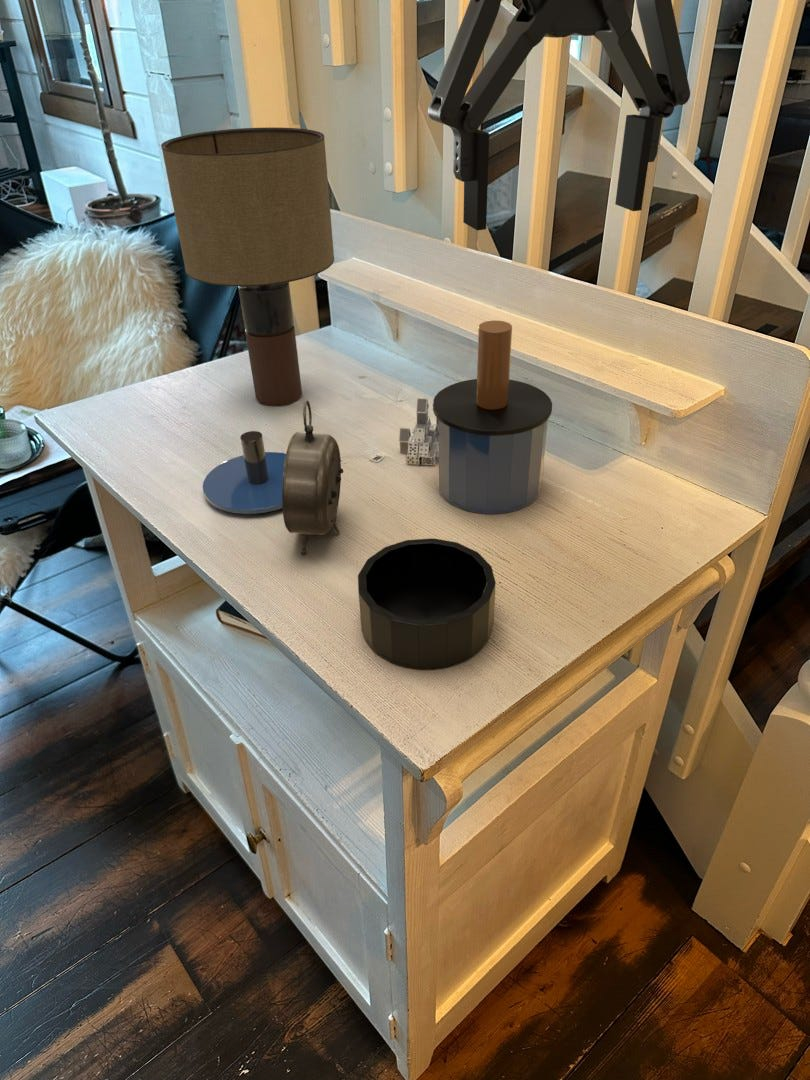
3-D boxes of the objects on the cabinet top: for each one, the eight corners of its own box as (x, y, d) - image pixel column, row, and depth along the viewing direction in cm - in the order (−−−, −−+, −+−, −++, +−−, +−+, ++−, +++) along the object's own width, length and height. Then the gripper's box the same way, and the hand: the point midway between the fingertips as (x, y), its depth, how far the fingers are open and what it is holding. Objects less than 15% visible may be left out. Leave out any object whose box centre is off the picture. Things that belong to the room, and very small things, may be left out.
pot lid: (337, 482, 95) (332, 431, 90) (252, 531, 87) (242, 478, 82) (265, 449, 102) (258, 400, 98) (182, 492, 94) (169, 440, 90)
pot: (560, 481, 93) (568, 403, 87) (501, 526, 86) (505, 445, 80) (477, 449, 100) (480, 375, 94) (416, 489, 93) (414, 412, 87)
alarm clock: (306, 505, 91) (291, 378, 81) (351, 506, 90) (340, 379, 81) (286, 561, 82) (266, 426, 72) (335, 562, 81) (321, 427, 72)
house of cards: (383, 429, 106) (380, 378, 101) (445, 433, 104) (445, 382, 100) (368, 462, 98) (365, 408, 94) (434, 467, 97) (434, 412, 93)
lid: (573, 407, 88) (583, 321, 82) (506, 453, 80) (511, 361, 74) (479, 377, 95) (481, 296, 89) (408, 417, 87) (406, 330, 81)
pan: (517, 616, 74) (521, 572, 70) (436, 691, 66) (436, 645, 63) (418, 566, 81) (418, 523, 77) (334, 629, 73) (329, 585, 70)
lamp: (306, 359, 127) (280, 122, 106) (369, 401, 113) (353, 139, 92) (191, 390, 118) (139, 139, 97) (245, 440, 104) (196, 160, 84)
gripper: (712, -132, 54) (660, 191, 66) (376, -134, 47) (389, 222, 60) (787, -148, 48) (716, 209, 60) (416, -153, 42) (422, 246, 54)
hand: (553, 217), depth 60 cm, fingers open, 13 cm apart
